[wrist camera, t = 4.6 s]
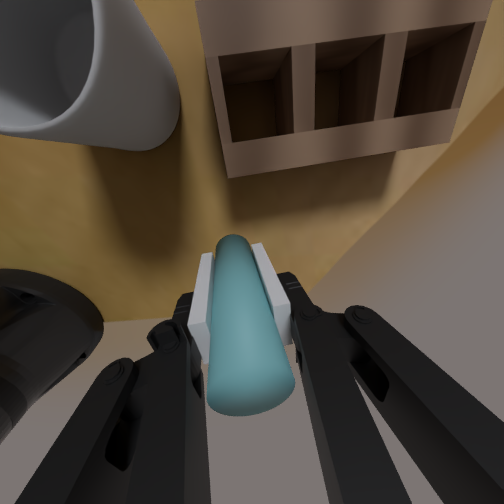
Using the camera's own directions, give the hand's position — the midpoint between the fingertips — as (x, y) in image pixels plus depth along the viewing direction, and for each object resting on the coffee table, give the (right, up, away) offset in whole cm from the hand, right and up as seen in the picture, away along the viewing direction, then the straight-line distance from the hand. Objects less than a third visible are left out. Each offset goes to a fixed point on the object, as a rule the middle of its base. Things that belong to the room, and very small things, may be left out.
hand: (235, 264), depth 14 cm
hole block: (+7, +14, +3) cm, 16 cm away
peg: (0, +1, +2) cm, 2 cm away
